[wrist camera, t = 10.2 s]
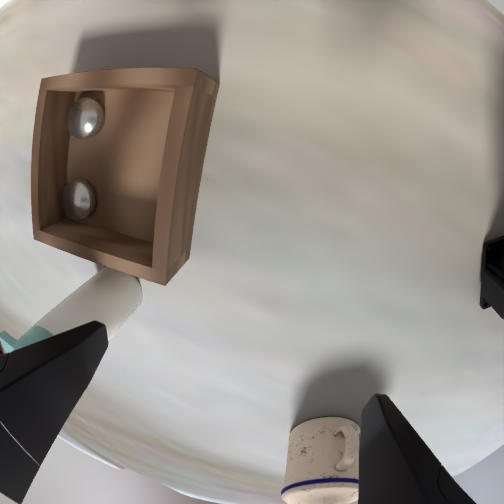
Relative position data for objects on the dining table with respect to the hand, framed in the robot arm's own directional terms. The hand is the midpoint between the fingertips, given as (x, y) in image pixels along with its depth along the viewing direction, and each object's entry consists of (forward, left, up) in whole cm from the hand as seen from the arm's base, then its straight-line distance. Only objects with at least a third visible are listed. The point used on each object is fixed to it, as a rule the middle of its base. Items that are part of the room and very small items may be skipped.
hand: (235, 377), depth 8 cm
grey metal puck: (+13, -8, -12) cm, 20 cm away
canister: (+15, +1, -13) cm, 20 cm away
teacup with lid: (0, +24, -13) cm, 27 cm away
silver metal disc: (+10, -13, -12) cm, 21 cm away
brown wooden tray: (+9, -9, -13) cm, 18 cm away
